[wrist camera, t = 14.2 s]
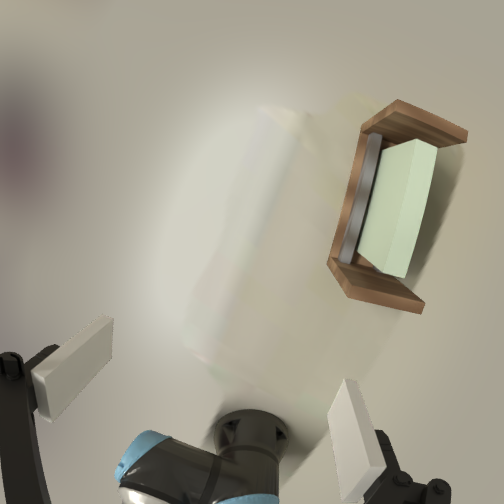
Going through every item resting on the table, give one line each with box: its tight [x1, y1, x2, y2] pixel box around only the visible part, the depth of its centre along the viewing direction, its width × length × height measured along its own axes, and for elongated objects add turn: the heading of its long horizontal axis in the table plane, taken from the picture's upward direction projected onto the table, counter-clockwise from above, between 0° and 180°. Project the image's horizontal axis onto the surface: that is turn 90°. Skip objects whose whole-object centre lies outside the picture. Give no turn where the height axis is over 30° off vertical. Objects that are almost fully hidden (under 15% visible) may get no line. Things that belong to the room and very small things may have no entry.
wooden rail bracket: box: [327, 99, 468, 314], centre depth 39 cm, size 23×10×16 cm, turn 166°
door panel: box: [355, 139, 438, 278], centre depth 39 cm, size 16×4×14 cm, turn 166°
